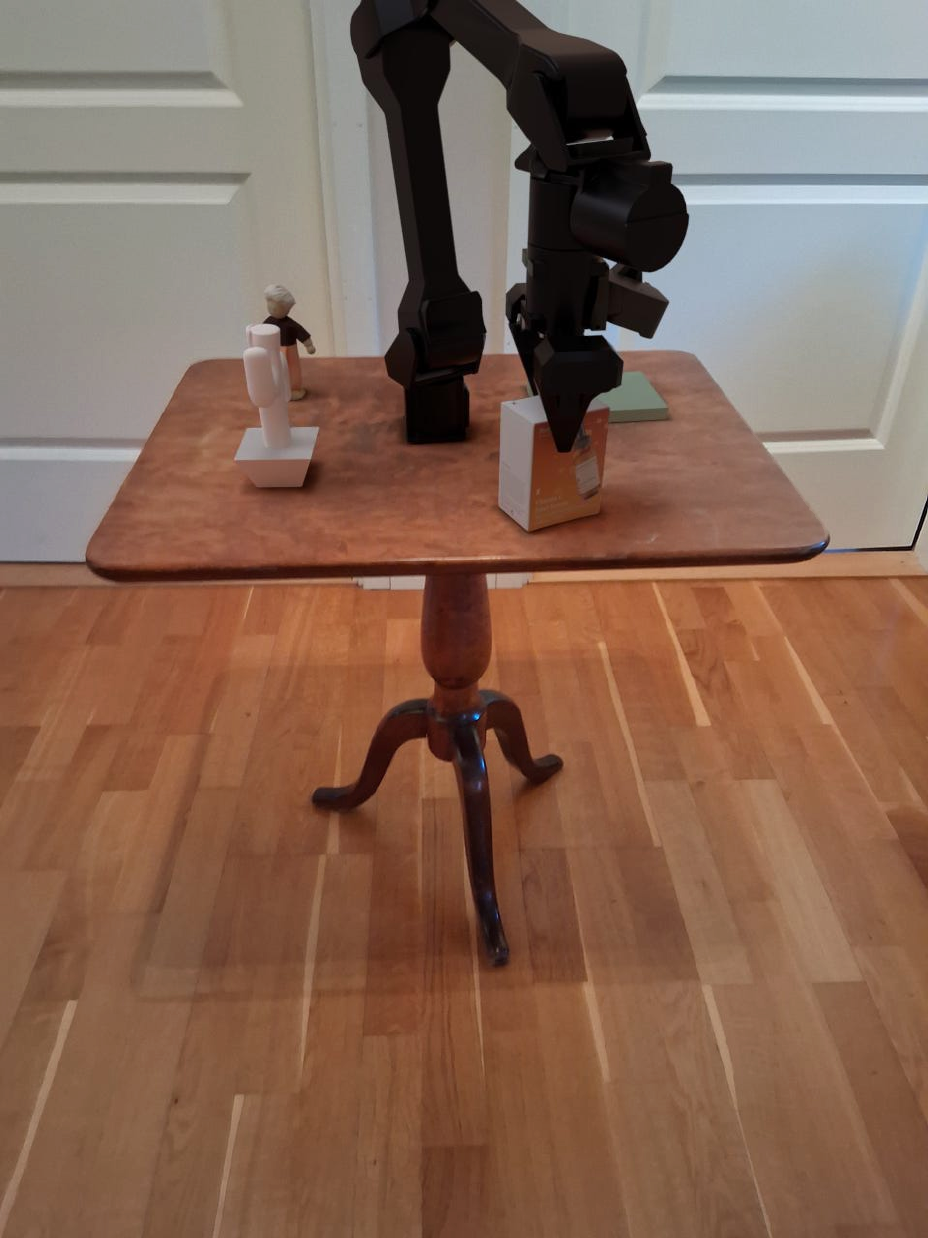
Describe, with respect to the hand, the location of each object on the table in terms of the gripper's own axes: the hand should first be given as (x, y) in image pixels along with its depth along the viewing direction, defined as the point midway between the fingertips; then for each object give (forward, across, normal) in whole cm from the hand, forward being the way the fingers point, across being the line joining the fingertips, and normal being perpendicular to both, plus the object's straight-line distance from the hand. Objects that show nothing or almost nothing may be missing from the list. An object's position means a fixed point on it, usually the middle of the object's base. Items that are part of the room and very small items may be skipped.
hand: (553, 428), depth 79 cm
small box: (+8, 0, 0) cm, 8 cm away
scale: (+8, +24, -10) cm, 27 cm away
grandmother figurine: (+8, +31, +25) cm, 41 cm away
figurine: (+8, +10, +25) cm, 28 cm away
